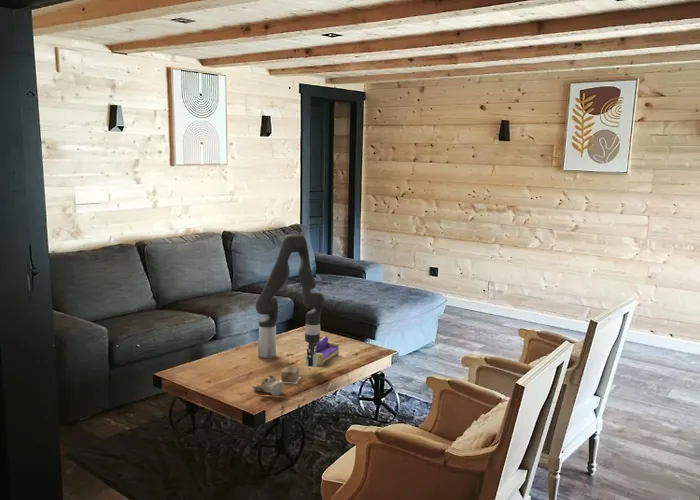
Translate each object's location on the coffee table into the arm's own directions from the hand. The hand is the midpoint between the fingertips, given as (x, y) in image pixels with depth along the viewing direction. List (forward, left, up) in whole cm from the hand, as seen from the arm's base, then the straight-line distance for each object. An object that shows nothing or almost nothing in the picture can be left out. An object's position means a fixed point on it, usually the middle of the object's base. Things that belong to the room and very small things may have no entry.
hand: (311, 364), depth 309 cm
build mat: (-8, -11, -5) cm, 15 cm away
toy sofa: (+2, +24, -6) cm, 24 cm away
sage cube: (0, 0, -1) cm, 1 cm away
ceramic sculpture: (-14, -27, -6) cm, 31 cm away
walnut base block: (-8, -11, -5) cm, 15 cm away
